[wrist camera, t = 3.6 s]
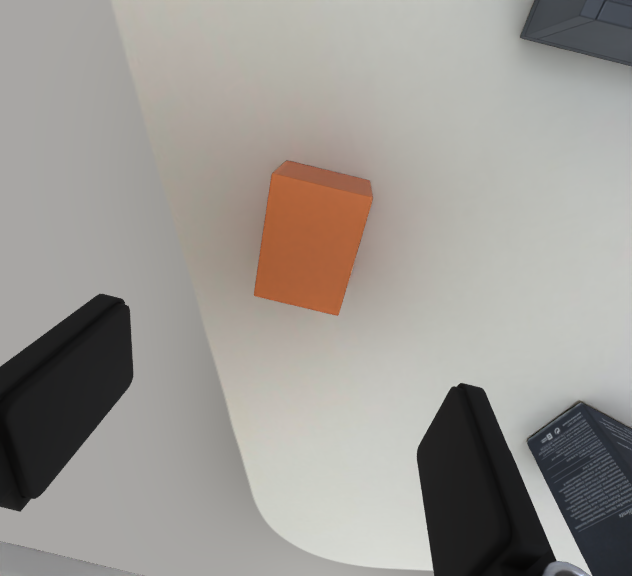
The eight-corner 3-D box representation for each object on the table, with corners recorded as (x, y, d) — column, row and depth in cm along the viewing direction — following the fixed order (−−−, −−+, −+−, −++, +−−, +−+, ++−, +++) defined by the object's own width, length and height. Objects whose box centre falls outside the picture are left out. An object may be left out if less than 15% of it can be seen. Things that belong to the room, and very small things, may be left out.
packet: (268, 266, 24) (253, 296, 20) (286, 159, 20) (271, 172, 17) (340, 284, 24) (338, 316, 20) (370, 180, 20) (373, 197, 17)
